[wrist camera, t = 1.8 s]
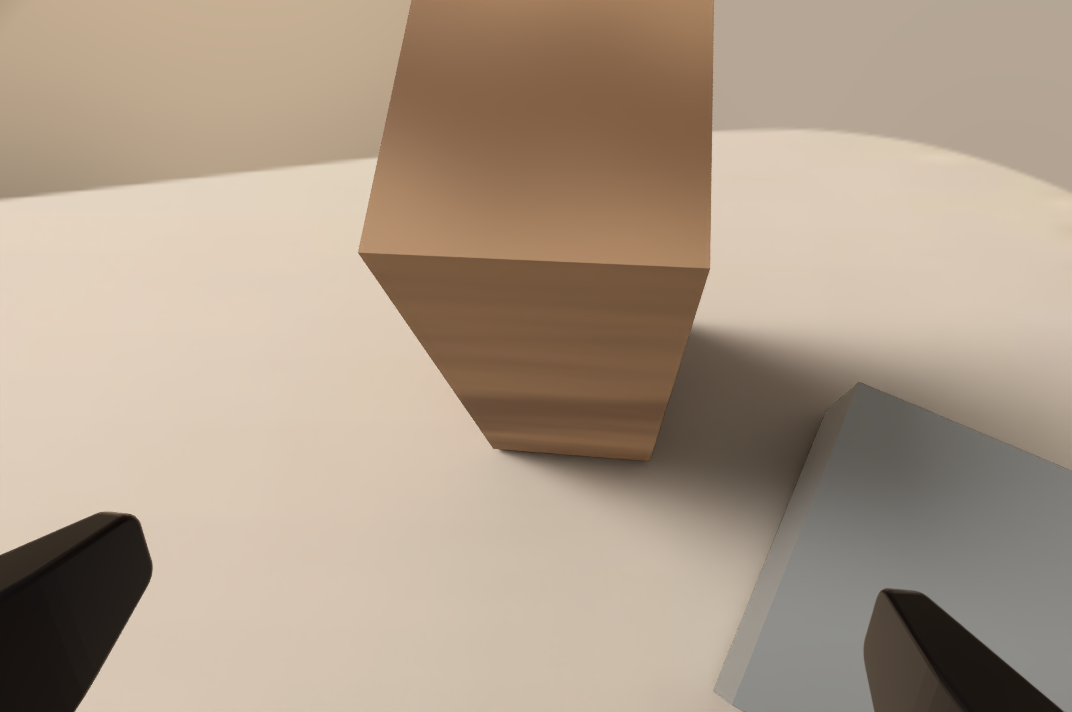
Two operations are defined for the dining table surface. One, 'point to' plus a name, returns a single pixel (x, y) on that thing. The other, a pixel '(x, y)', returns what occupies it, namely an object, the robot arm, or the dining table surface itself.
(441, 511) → the dining table surface
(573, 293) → the walnut pillar
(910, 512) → the slate plinth
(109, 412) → the dining table surface
